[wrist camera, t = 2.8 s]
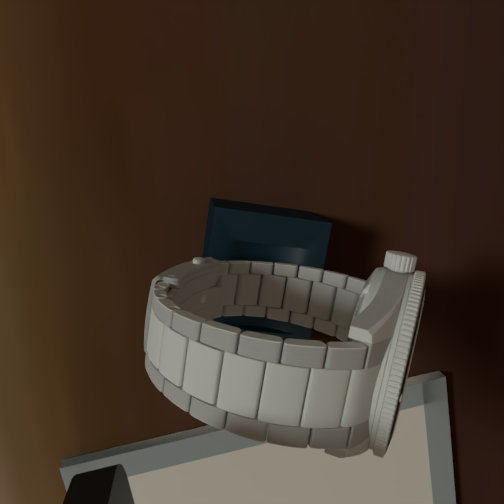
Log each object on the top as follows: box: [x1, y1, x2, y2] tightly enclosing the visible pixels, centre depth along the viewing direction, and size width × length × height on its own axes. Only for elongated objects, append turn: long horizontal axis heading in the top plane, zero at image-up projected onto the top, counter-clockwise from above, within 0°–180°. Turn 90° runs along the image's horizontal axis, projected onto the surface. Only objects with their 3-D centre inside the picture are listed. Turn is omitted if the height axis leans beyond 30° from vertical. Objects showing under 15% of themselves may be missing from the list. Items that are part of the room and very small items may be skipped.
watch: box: [144, 198, 426, 458], centre depth 15 cm, size 6×8×11 cm
